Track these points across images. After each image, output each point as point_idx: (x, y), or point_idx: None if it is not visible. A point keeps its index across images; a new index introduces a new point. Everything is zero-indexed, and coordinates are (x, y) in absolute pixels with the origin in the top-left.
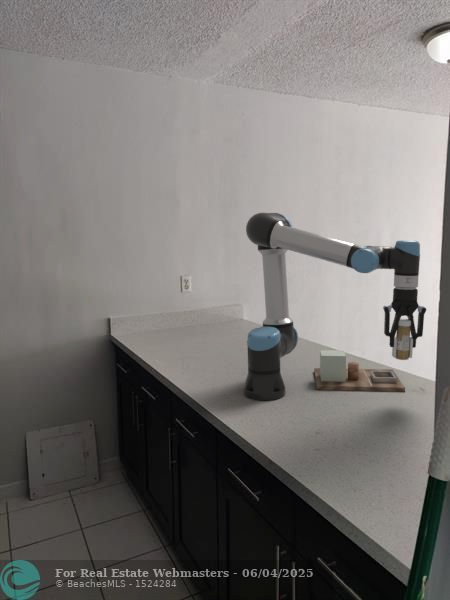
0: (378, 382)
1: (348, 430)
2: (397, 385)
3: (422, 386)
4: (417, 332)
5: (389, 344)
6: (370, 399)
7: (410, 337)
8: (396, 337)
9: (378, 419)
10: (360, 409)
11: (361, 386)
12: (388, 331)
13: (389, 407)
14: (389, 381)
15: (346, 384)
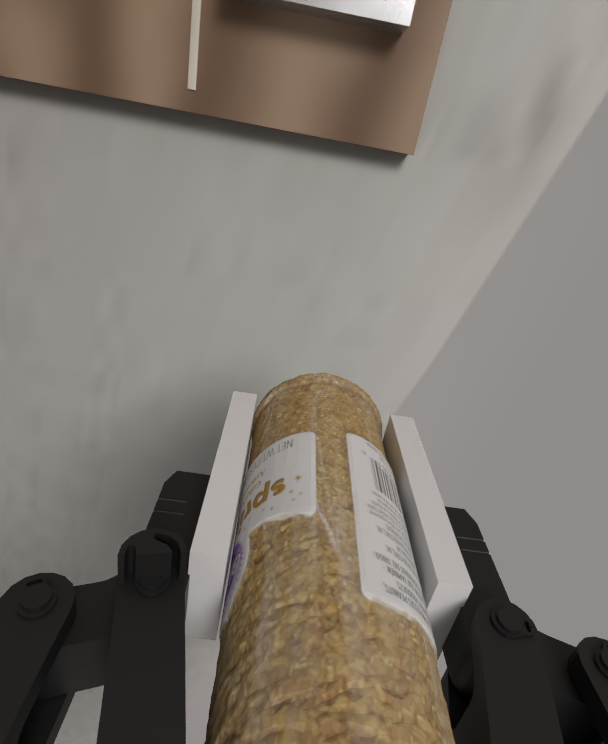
0: (265, 5)
1: (22, 550)
2: (382, 98)
3: (590, 45)
4: (583, 704)
5: (163, 490)
6: (157, 266)
7: (447, 604)
8: (223, 612)
9: (145, 486)
10: (85, 388)
11: (117, 92)
12: (38, 740)
13: (226, 380)
14: (349, 20)
15: (8, 25)
